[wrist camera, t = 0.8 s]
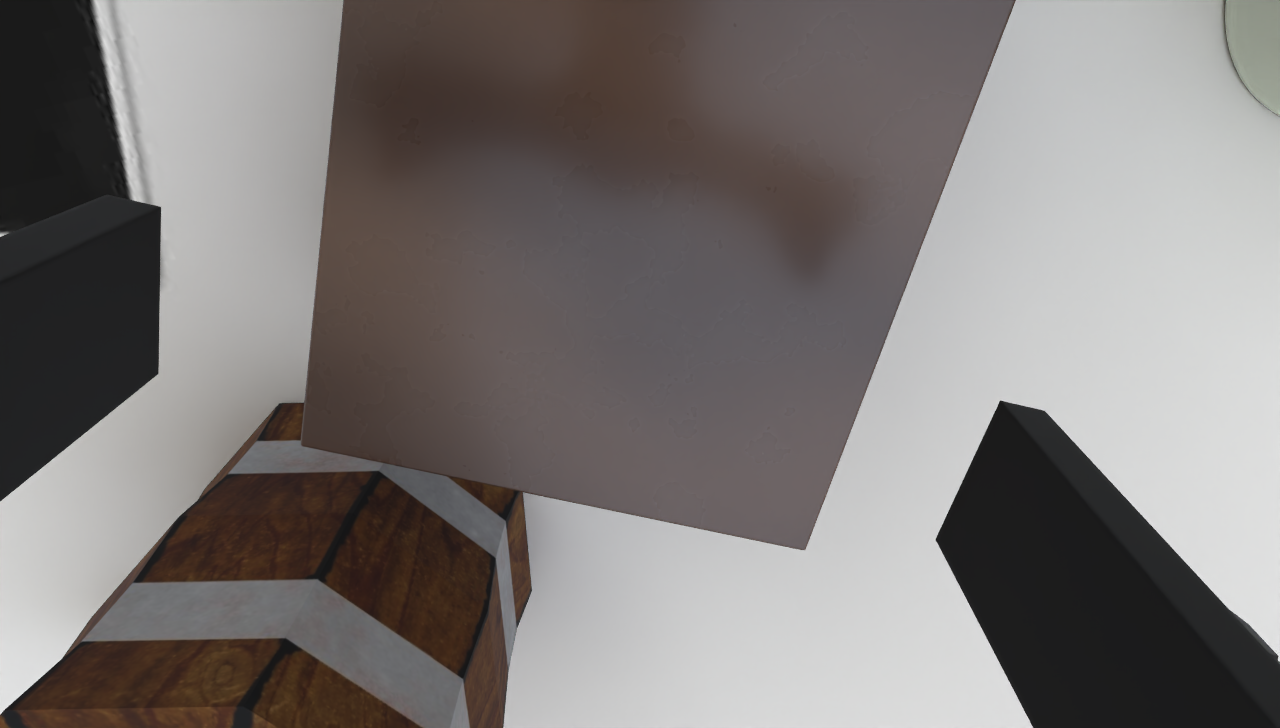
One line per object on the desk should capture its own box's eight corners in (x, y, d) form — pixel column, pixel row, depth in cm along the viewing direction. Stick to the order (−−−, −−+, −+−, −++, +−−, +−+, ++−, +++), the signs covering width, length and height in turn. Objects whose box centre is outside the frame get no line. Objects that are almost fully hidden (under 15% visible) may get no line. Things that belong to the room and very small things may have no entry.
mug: (436, 335, 31) (271, 607, 17) (595, 610, 36) (564, 993, 22) (6, 520, 34) (-423, 873, 20) (205, 749, 39) (-33, 1160, 25)
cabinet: (466, -175, 25) (368, -270, 16) (909, -53, 26) (1046, -77, 17) (397, 317, 31) (299, 446, 22) (760, 398, 32) (805, 552, 23)
